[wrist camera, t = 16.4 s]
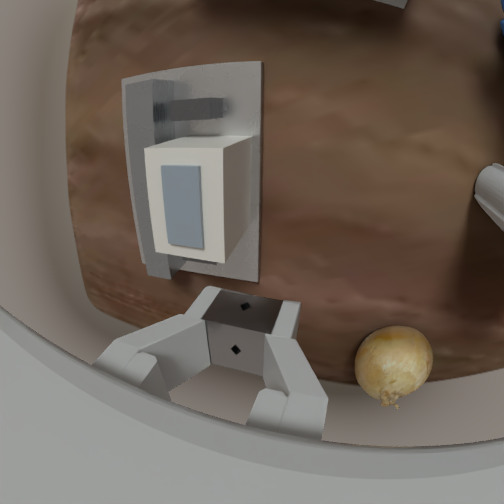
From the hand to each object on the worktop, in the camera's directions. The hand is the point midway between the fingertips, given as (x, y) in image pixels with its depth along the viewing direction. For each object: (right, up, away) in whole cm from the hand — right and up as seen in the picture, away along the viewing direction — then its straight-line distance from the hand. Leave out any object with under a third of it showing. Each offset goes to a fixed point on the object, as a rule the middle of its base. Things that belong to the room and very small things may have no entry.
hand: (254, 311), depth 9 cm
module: (-3, +7, +13) cm, 15 cm away
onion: (+14, -7, +17) cm, 23 cm away
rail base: (-5, +8, +14) cm, 17 cm away
